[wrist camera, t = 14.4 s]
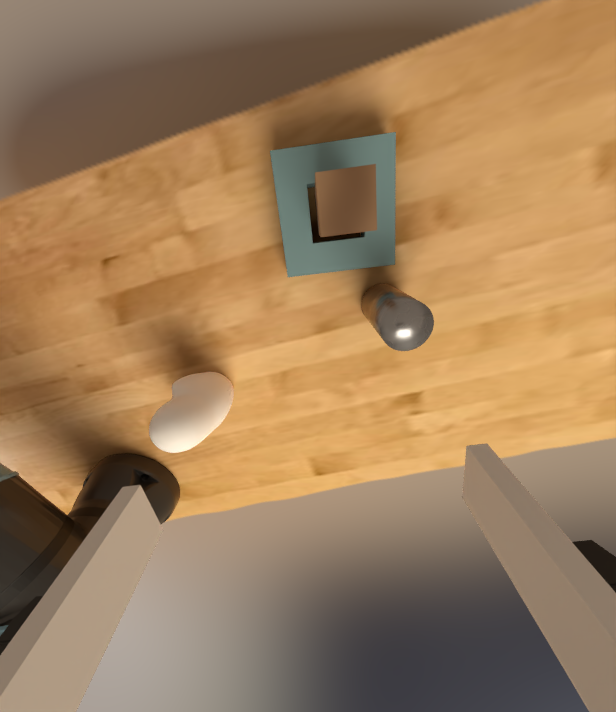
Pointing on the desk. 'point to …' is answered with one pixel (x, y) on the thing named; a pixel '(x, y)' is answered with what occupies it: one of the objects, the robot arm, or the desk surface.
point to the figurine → (191, 411)
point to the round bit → (397, 317)
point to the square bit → (346, 200)
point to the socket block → (293, 205)
